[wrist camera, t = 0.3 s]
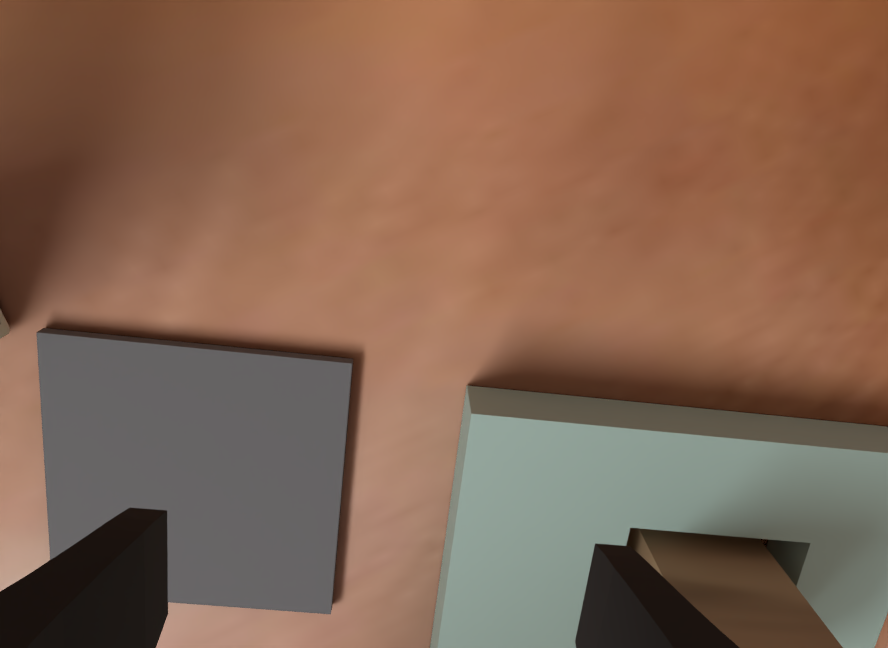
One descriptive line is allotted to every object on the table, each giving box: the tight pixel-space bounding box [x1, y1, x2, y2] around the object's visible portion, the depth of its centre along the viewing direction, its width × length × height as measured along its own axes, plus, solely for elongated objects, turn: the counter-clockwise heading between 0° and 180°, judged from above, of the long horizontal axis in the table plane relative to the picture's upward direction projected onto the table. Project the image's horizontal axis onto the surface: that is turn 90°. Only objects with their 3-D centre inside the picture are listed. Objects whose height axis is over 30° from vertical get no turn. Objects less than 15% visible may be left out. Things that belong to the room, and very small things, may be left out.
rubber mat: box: [37, 328, 353, 614], centre depth 22 cm, size 9×9×1 cm
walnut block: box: [626, 528, 843, 648], centre depth 21 cm, size 4×4×7 cm
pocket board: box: [430, 385, 888, 648], centre depth 23 cm, size 16×14×2 cm
